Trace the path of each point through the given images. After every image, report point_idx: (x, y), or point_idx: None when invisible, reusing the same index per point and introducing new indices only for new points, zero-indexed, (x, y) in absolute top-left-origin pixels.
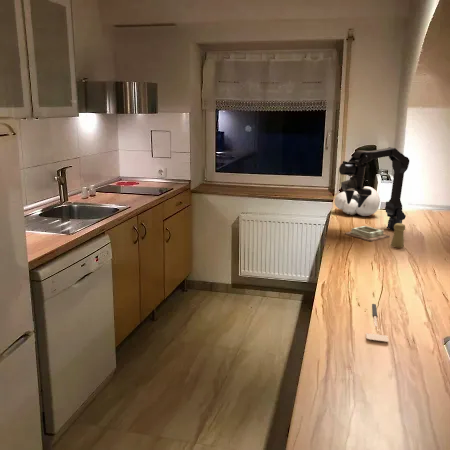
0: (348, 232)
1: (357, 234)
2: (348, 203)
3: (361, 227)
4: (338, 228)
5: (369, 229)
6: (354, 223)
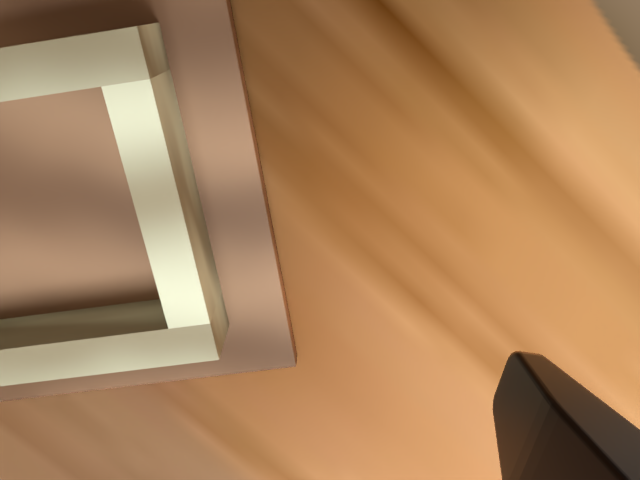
0: (208, 14)
1: (38, 41)
2: (506, 374)
3: (145, 236)
4: (522, 110)
5: (110, 323)
6: None
